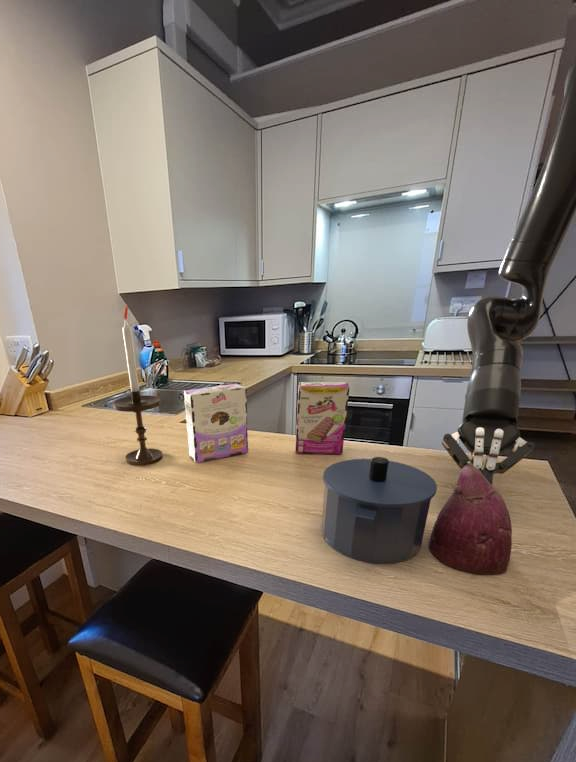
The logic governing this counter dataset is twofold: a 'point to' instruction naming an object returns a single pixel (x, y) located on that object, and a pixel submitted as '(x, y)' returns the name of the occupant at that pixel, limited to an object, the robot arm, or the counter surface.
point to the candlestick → (137, 405)
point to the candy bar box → (321, 417)
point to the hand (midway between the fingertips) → (479, 494)
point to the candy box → (216, 422)
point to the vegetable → (473, 527)
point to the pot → (373, 529)
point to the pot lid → (379, 482)
